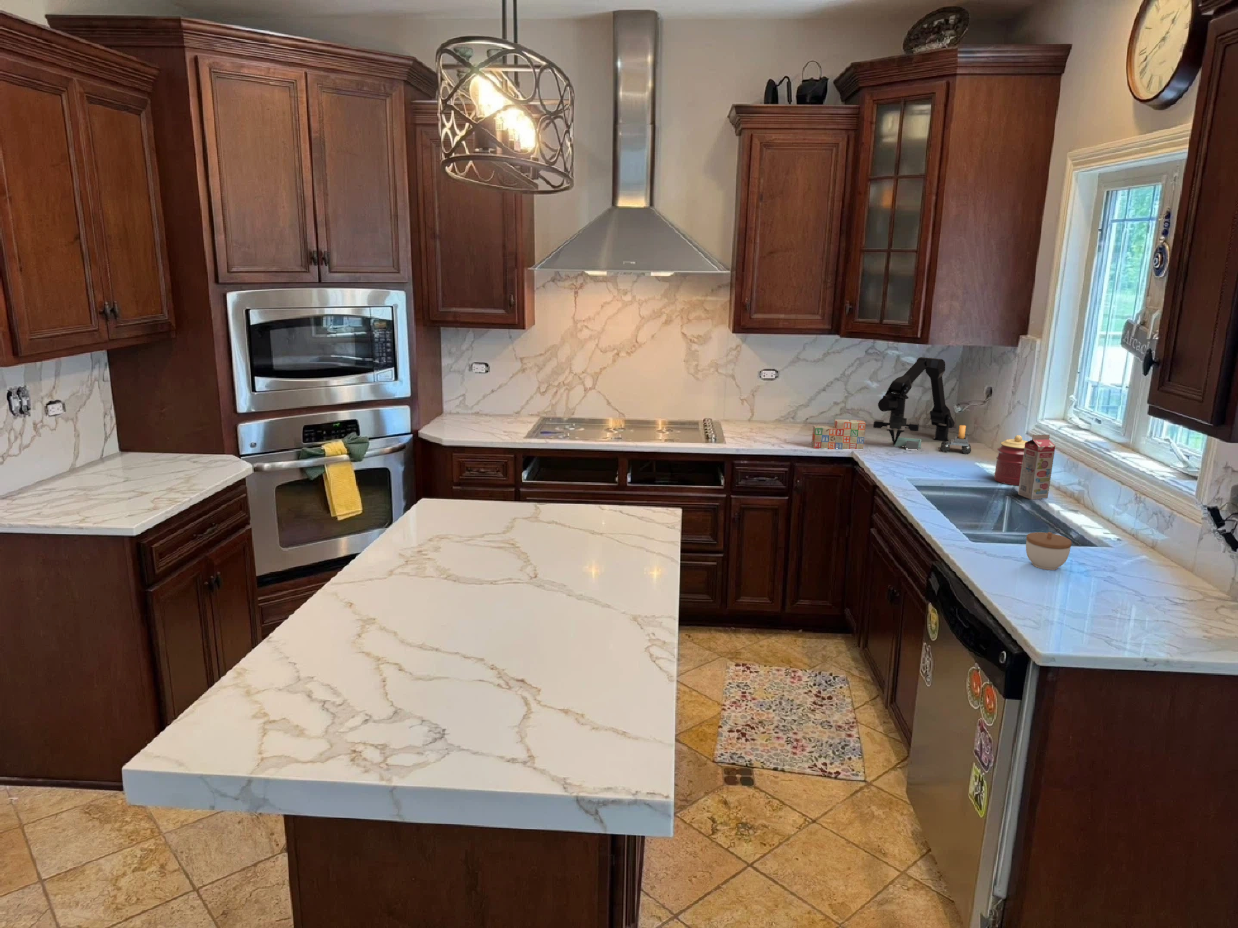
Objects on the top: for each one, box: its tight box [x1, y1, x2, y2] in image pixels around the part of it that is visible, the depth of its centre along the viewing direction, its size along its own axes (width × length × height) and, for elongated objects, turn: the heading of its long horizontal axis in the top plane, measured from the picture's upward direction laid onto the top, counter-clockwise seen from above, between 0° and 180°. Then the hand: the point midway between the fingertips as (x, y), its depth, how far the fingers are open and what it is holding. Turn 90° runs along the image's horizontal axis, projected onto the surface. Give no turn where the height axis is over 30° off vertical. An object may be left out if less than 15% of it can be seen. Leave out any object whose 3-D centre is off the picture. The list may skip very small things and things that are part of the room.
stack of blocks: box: [811, 419, 867, 450], centre depth 359 cm, size 21×6×12 cm, turn 85°
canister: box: [993, 434, 1029, 486], centre depth 306 cm, size 13×13×18 cm
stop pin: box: [957, 424, 967, 439], centre depth 355 cm, size 3×3×7 cm
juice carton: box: [1017, 434, 1056, 500], centre depth 286 cm, size 7×7×22 cm
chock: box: [905, 441, 919, 451], centre depth 360 cm, size 4×5×4 cm
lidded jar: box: [1025, 531, 1073, 571], centre depth 220 cm, size 11×11×9 cm
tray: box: [893, 436, 922, 449], centre depth 366 cm, size 6×11×3 cm, turn 69°
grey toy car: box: [940, 435, 972, 455], centre depth 357 cm, size 8×12×6 cm, turn 69°
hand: (894, 444), depth 362 cm, fingers closed
